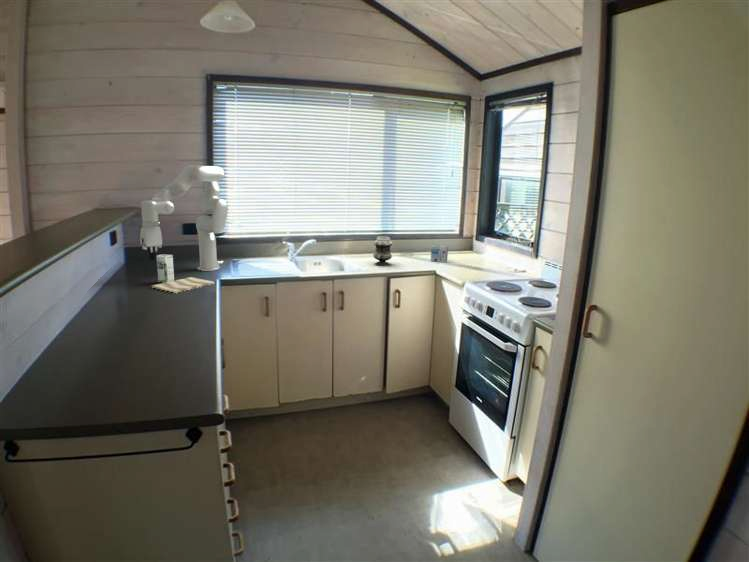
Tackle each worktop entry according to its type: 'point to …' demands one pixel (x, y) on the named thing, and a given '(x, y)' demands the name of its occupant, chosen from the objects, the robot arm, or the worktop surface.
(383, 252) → the apothecary jar
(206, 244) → the robot arm
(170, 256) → the syrup box
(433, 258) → the light bulb box
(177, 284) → the chopping board
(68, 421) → the worktop surface
